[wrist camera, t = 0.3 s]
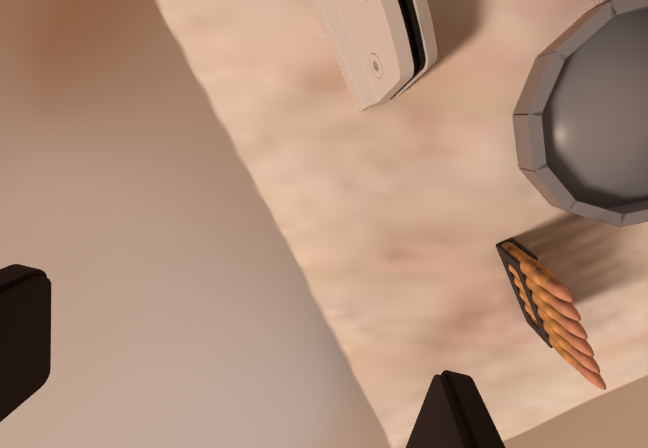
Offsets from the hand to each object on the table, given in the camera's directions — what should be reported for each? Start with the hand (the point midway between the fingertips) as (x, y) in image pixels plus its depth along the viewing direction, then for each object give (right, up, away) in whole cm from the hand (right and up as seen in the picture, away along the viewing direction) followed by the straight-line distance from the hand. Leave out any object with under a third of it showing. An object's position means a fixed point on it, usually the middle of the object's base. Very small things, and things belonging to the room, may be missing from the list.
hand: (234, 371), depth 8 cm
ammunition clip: (+24, -3, +31) cm, 40 cm away
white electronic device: (+6, +23, +25) cm, 35 cm away
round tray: (+31, +14, +26) cm, 43 cm away
